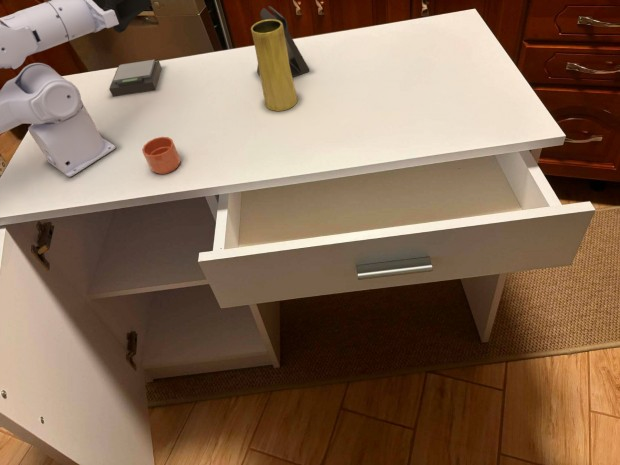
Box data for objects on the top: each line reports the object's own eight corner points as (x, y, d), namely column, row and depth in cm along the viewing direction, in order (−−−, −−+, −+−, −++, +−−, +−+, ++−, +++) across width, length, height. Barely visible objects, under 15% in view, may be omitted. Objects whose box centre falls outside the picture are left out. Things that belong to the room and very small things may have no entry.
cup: (163, 179, 77) (154, 160, 74) (145, 168, 80) (136, 149, 77) (187, 162, 79) (179, 143, 76) (169, 152, 82) (160, 133, 79)
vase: (293, 111, 85) (280, 34, 75) (261, 111, 87) (243, 35, 76) (300, 93, 89) (288, 16, 79) (269, 93, 91) (253, 18, 80)
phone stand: (268, 86, 92) (255, 25, 84) (257, 73, 96) (243, 14, 87) (309, 71, 94) (301, 10, 85) (297, 59, 98) (288, -1, 89)
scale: (112, 96, 97) (107, 85, 95) (121, 74, 103) (116, 63, 102) (155, 90, 97) (151, 78, 95) (161, 68, 103) (157, 56, 101)
